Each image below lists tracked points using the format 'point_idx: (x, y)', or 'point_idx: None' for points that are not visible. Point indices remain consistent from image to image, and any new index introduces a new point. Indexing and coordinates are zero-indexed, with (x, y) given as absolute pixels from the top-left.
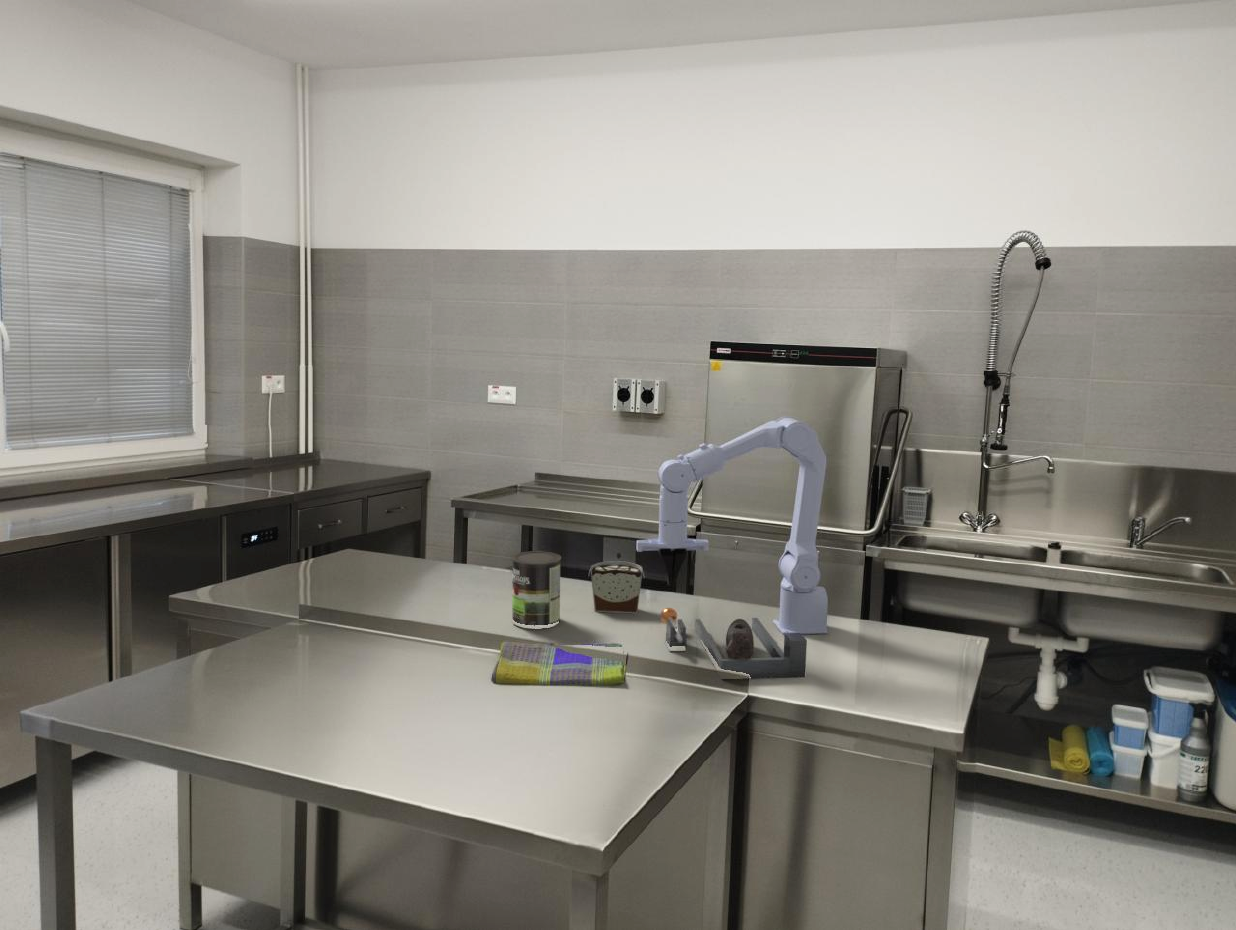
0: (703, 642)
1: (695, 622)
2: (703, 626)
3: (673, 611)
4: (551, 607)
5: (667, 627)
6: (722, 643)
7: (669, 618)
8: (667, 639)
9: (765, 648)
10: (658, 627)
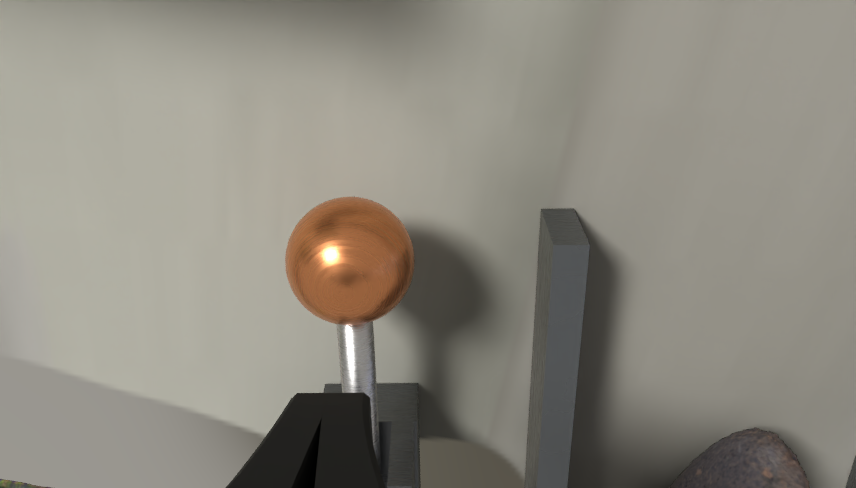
0: (530, 459)
1: (549, 246)
2: (571, 381)
3: (378, 311)
4: None
5: None
6: (647, 406)
7: (343, 354)
8: None
9: (848, 481)
10: (297, 127)
